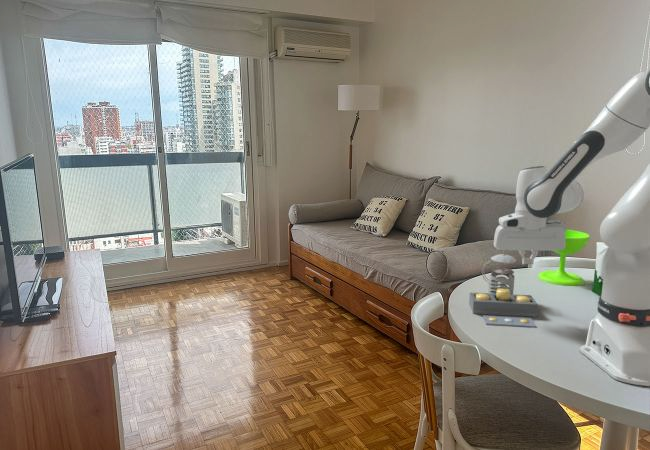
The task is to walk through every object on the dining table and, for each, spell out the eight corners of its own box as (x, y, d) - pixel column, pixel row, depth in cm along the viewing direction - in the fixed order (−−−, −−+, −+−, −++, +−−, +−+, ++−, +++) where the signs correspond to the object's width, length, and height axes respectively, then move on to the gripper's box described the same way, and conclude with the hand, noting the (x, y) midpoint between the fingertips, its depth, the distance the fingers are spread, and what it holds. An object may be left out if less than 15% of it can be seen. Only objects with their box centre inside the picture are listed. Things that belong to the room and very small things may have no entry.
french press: (511, 305, 148) (517, 231, 143) (476, 297, 155) (480, 226, 150) (519, 296, 156) (525, 225, 151) (485, 289, 163) (490, 221, 158)
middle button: (510, 302, 141) (511, 293, 141) (497, 301, 142) (498, 292, 141) (507, 297, 145) (508, 288, 145) (494, 297, 146) (495, 288, 145)
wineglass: (580, 275, 179) (585, 230, 175) (588, 287, 164) (593, 239, 161) (536, 271, 184) (540, 228, 181) (539, 283, 170) (544, 236, 166)
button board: (545, 327, 131) (546, 315, 130) (477, 324, 134) (478, 311, 133) (529, 307, 147) (530, 295, 146) (469, 303, 150) (469, 292, 149)
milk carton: (600, 299, 153) (607, 241, 149) (587, 289, 162) (594, 235, 158) (627, 299, 153) (635, 242, 149) (613, 290, 161) (620, 236, 157)
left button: (489, 307, 143) (490, 298, 142) (476, 306, 143) (477, 297, 143) (487, 302, 147) (487, 293, 146) (474, 302, 147) (475, 293, 147)
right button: (531, 309, 141) (532, 300, 140) (517, 308, 141) (518, 299, 141) (527, 304, 145) (528, 295, 144) (514, 304, 145) (515, 295, 145)
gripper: (563, 218, 139) (560, 261, 141) (493, 218, 142) (491, 260, 144) (570, 221, 133) (567, 267, 135) (497, 221, 136) (495, 266, 138)
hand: (527, 263), depth 140 cm, fingers closed
